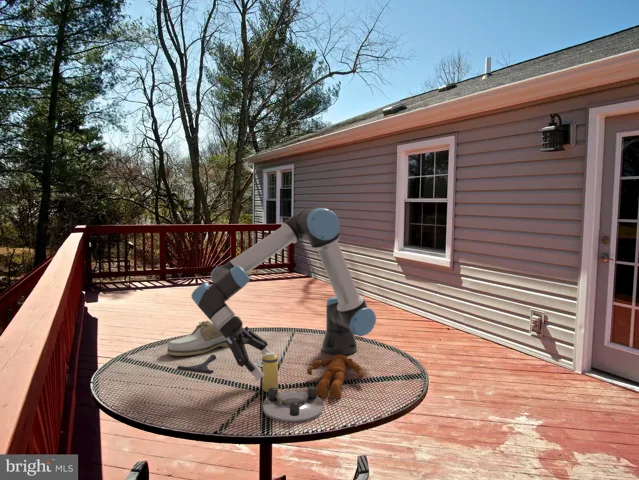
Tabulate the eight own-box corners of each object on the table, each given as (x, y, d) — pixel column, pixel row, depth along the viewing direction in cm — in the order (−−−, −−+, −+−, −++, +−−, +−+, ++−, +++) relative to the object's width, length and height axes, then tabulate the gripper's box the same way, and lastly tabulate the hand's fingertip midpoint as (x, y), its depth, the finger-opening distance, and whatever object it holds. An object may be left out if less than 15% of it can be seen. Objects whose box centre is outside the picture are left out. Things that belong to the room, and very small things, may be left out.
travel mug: (277, 385, 146) (277, 350, 145) (277, 391, 141) (278, 355, 140) (262, 386, 145) (262, 351, 144) (261, 392, 140) (262, 356, 139)
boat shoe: (160, 354, 177) (159, 325, 176) (230, 337, 203) (230, 311, 203) (176, 362, 168) (176, 331, 167) (248, 343, 194) (248, 316, 194)
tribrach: (319, 394, 139) (319, 381, 138) (326, 421, 121) (326, 405, 121) (263, 396, 137) (263, 382, 136) (262, 423, 119) (262, 407, 119)
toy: (359, 405, 134) (367, 368, 164) (359, 383, 134) (367, 350, 163) (298, 399, 138) (316, 364, 168) (297, 378, 138) (316, 346, 167)
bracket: (230, 362, 170) (230, 355, 170) (211, 375, 156) (211, 368, 156) (198, 358, 174) (198, 352, 174) (177, 371, 160) (176, 363, 160)
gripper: (235, 321, 158) (273, 364, 155) (201, 339, 134) (246, 392, 131) (249, 307, 156) (287, 351, 153) (217, 324, 132) (262, 376, 129)
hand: (268, 370), depth 142 cm, fingers open, 13 cm apart
